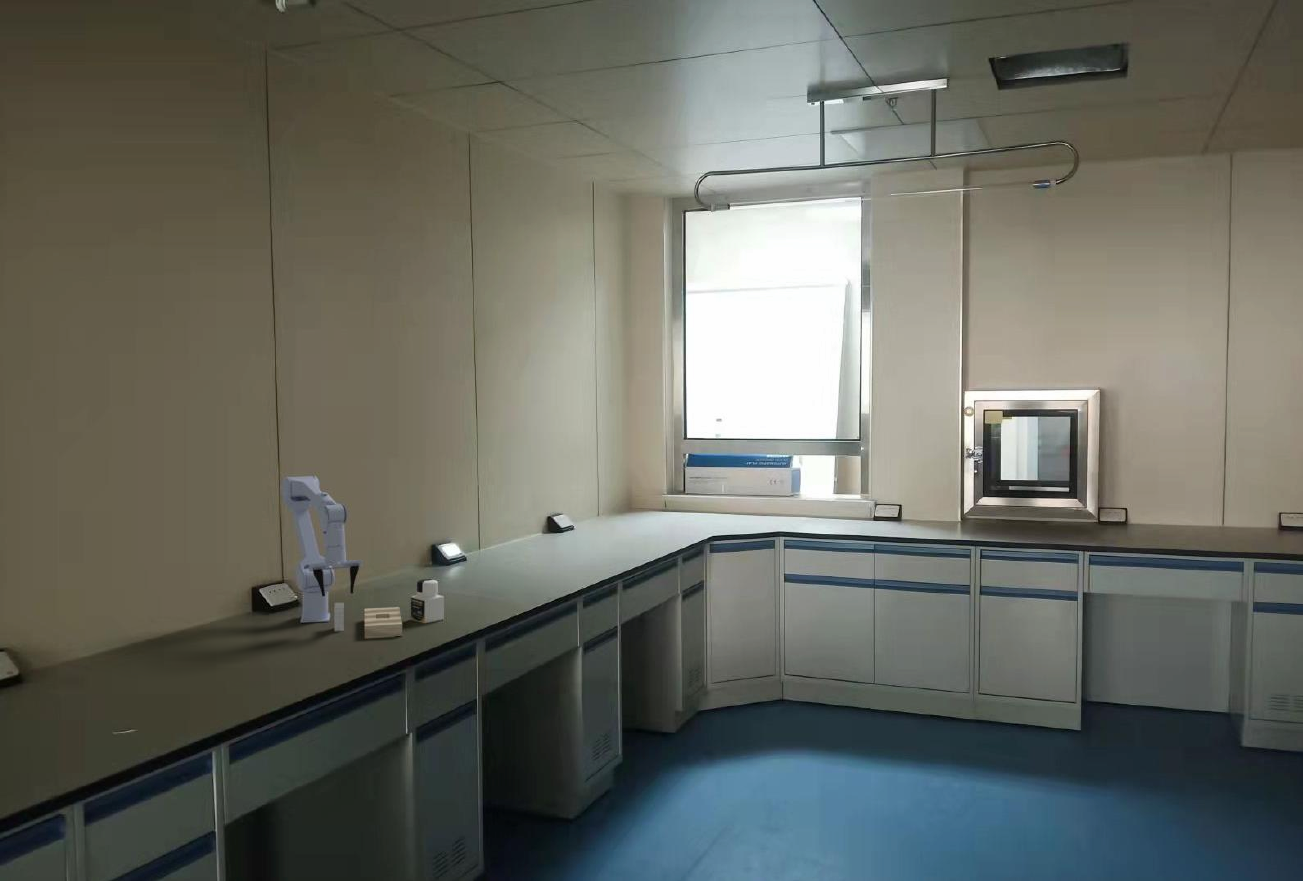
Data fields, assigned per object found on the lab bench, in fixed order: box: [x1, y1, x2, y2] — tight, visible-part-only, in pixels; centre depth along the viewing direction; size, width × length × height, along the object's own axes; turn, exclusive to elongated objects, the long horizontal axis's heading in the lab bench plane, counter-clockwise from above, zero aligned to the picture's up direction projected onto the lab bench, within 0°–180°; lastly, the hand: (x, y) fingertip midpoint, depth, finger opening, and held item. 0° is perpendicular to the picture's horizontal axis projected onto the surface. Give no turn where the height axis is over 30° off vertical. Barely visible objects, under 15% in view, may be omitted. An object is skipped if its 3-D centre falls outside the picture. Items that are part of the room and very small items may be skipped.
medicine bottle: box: [410, 578, 445, 624], centre depth 299 cm, size 7×7×12 cm
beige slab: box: [364, 606, 403, 639], centre depth 288 cm, size 22×10×4 cm, turn 16°
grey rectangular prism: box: [333, 602, 345, 632], centre depth 286 cm, size 7×2×7 cm, turn 16°
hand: (337, 594), depth 284 cm, fingers open, 7 cm apart
